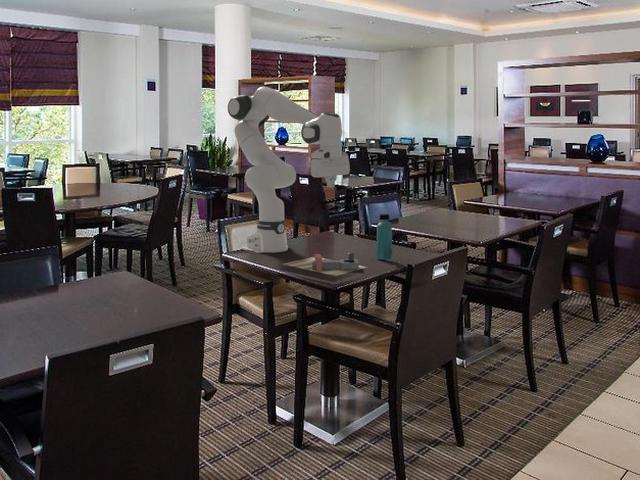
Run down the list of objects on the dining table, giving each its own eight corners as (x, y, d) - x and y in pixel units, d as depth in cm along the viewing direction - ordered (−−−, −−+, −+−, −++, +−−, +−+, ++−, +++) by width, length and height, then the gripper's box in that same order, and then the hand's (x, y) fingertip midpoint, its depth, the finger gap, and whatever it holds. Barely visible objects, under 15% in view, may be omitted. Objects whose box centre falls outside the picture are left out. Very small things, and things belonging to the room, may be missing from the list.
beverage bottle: (391, 263, 267) (392, 215, 264) (375, 263, 269) (375, 215, 265) (392, 260, 274) (393, 213, 270) (377, 259, 275) (377, 212, 271)
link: (312, 271, 251) (312, 263, 251) (312, 267, 258) (312, 259, 257) (358, 270, 252) (358, 262, 251) (357, 266, 258) (357, 259, 258)
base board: (282, 266, 263) (282, 264, 263) (314, 258, 277) (314, 256, 277) (335, 278, 244) (335, 275, 244) (367, 269, 257) (367, 267, 257)
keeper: (314, 267, 258) (314, 254, 257) (320, 266, 258) (320, 254, 257) (316, 271, 251) (316, 258, 250) (322, 271, 251) (322, 258, 250)
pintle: (347, 268, 256) (347, 253, 255) (350, 267, 257) (350, 252, 256) (351, 268, 255) (351, 253, 253) (354, 267, 256) (354, 253, 255)
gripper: (342, 151, 275) (341, 184, 278) (308, 153, 260) (308, 188, 263) (353, 152, 271) (353, 185, 273) (319, 154, 256) (319, 189, 259)
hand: (330, 186), depth 268 cm, fingers closed
